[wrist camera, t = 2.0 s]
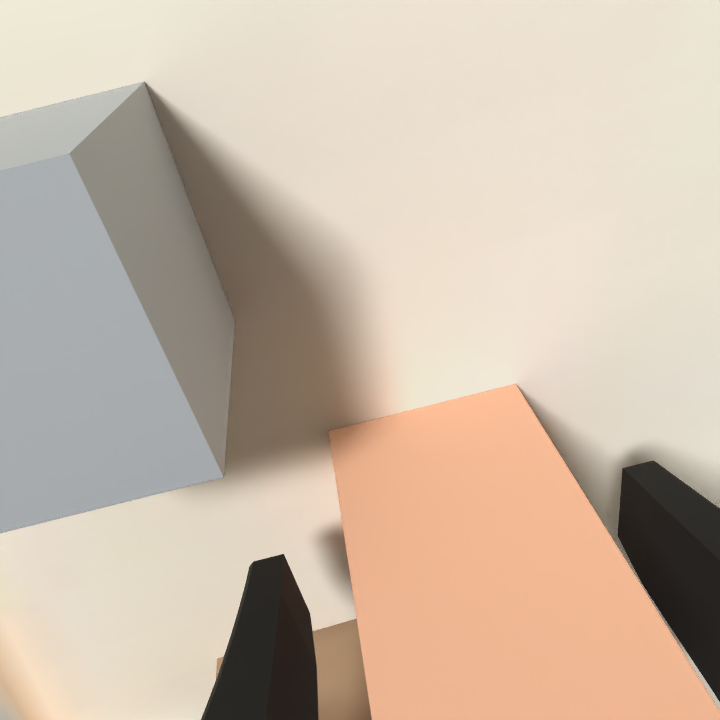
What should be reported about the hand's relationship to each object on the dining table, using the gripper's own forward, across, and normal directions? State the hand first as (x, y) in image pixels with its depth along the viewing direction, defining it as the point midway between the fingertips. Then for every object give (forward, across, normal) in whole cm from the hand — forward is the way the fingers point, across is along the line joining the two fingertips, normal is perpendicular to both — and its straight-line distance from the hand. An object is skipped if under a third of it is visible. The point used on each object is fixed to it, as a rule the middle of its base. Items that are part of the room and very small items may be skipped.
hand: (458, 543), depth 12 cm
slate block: (+2, +5, -7) cm, 9 cm away
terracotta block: (+2, 0, 0) cm, 2 cm away
